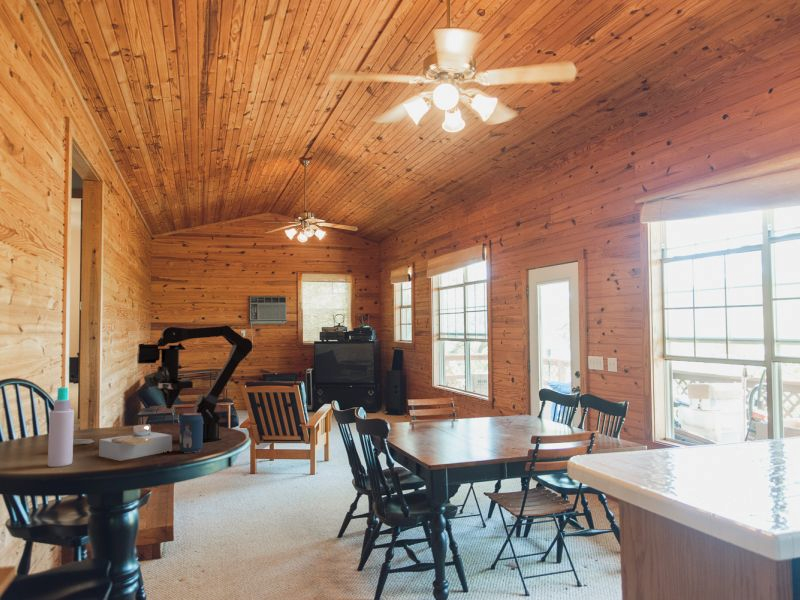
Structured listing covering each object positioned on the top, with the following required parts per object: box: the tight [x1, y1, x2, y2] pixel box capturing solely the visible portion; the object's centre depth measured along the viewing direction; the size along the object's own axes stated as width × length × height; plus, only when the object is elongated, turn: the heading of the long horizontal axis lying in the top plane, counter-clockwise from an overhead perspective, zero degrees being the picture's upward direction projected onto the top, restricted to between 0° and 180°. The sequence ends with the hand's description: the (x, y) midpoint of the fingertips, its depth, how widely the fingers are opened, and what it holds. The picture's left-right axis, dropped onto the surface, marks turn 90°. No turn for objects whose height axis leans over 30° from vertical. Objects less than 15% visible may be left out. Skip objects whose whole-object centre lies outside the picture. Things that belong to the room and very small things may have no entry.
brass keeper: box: [114, 437, 153, 445], centre depth 165 cm, size 6×11×1 cm, turn 56°
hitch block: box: [98, 431, 173, 462], centre depth 174 cm, size 17×12×6 cm
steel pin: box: [132, 424, 152, 437], centre depth 178 cm, size 5×5×8 cm
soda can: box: [179, 411, 204, 454], centre depth 177 cm, size 7×7×12 cm
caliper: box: [73, 438, 95, 445], centre depth 183 cm, size 20×1×6 cm, turn 174°
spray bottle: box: [47, 387, 75, 468], centre depth 159 cm, size 6×6×22 cm
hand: (169, 408), depth 190 cm, fingers closed
